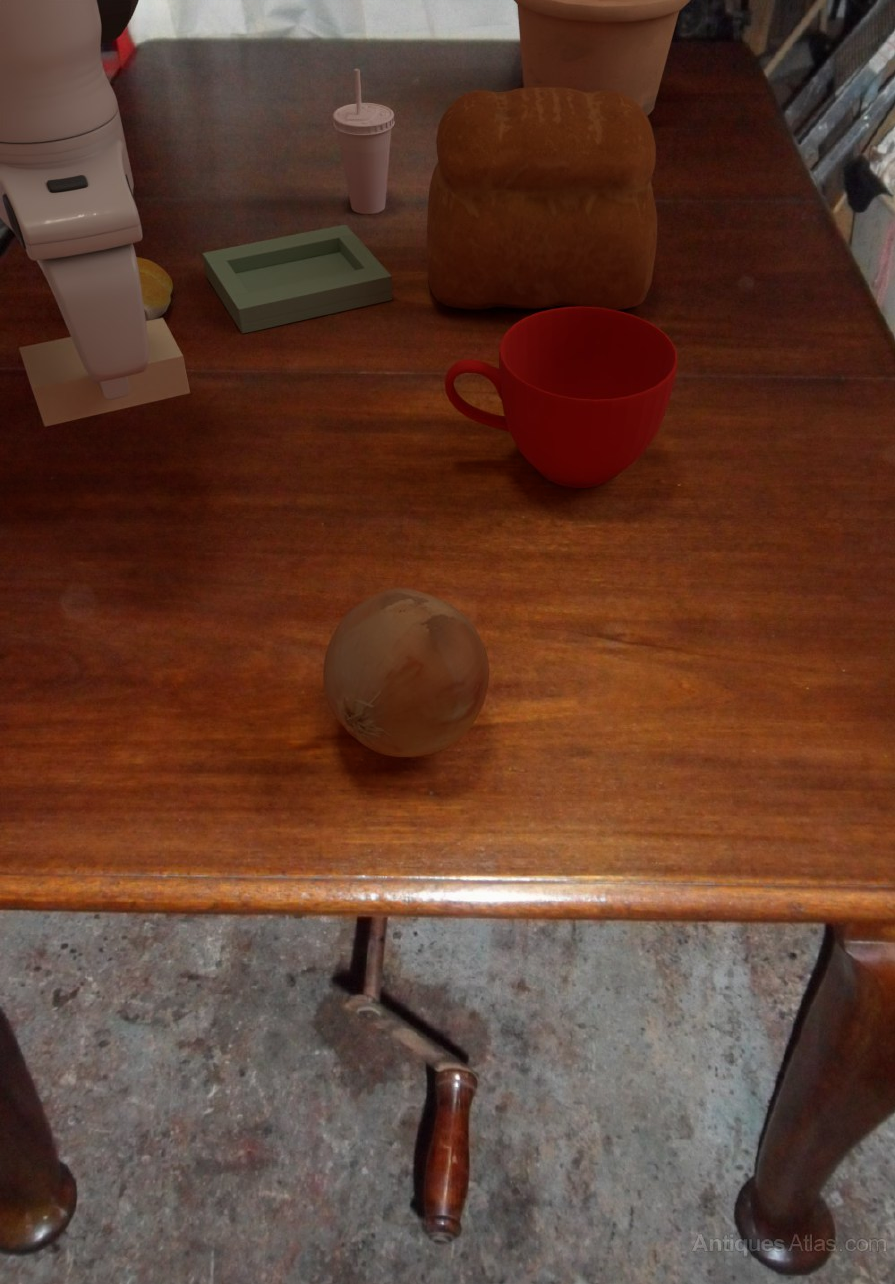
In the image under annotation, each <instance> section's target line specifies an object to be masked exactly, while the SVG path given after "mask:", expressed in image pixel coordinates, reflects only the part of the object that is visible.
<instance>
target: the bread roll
mask: <svg viewBox="0 0 895 1284" xmlns="http://www.w3.org/2000/svg"><path fill="white" fill-rule="evenodd" d="M136 259H137V264H138V269H139V275H140V282H141V289H142V297H143V304H144V311H145V319H146V321H150V320H154V319H159V318H161V317H162V316H163V315H164V314H165V313H166V312H167V310H168V308H169V305H170V304H171V301H172V298H171V295H172V292H173V289H174V285H173V280H172V278H171V276H170V275H169V274H168V272H167V271H166V270H165V269H164V268H163V267H161V266H160V265H158V264H157V263H156V262H154V261H152V260H150V259H146V258H143V257H139V256H136Z"/></svg>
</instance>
